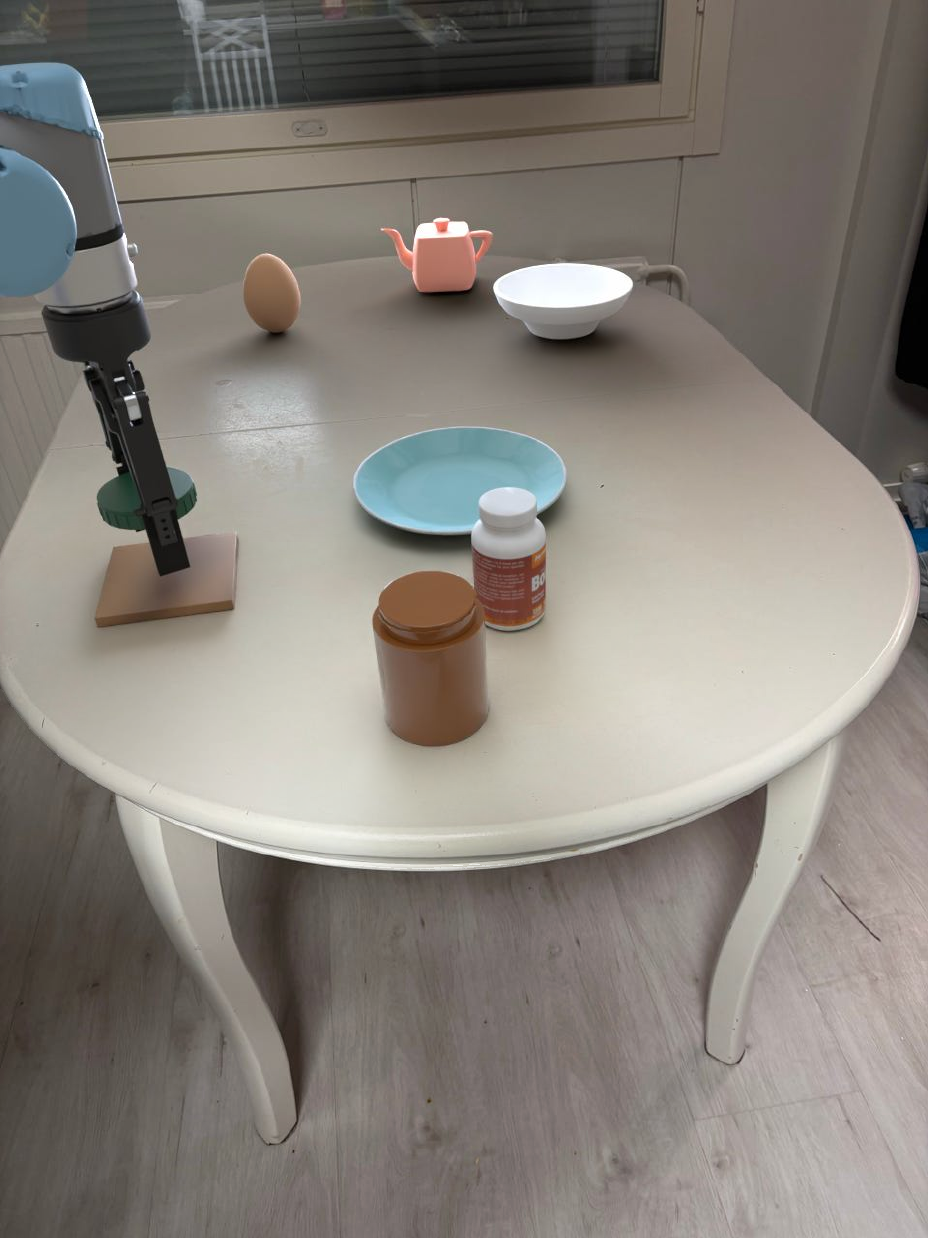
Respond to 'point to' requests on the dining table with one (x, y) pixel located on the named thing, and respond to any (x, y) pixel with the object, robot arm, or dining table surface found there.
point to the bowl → (563, 297)
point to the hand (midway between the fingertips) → (161, 547)
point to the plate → (453, 477)
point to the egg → (271, 293)
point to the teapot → (442, 255)
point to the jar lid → (123, 498)
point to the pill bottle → (509, 559)
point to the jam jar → (432, 657)
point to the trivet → (169, 582)
